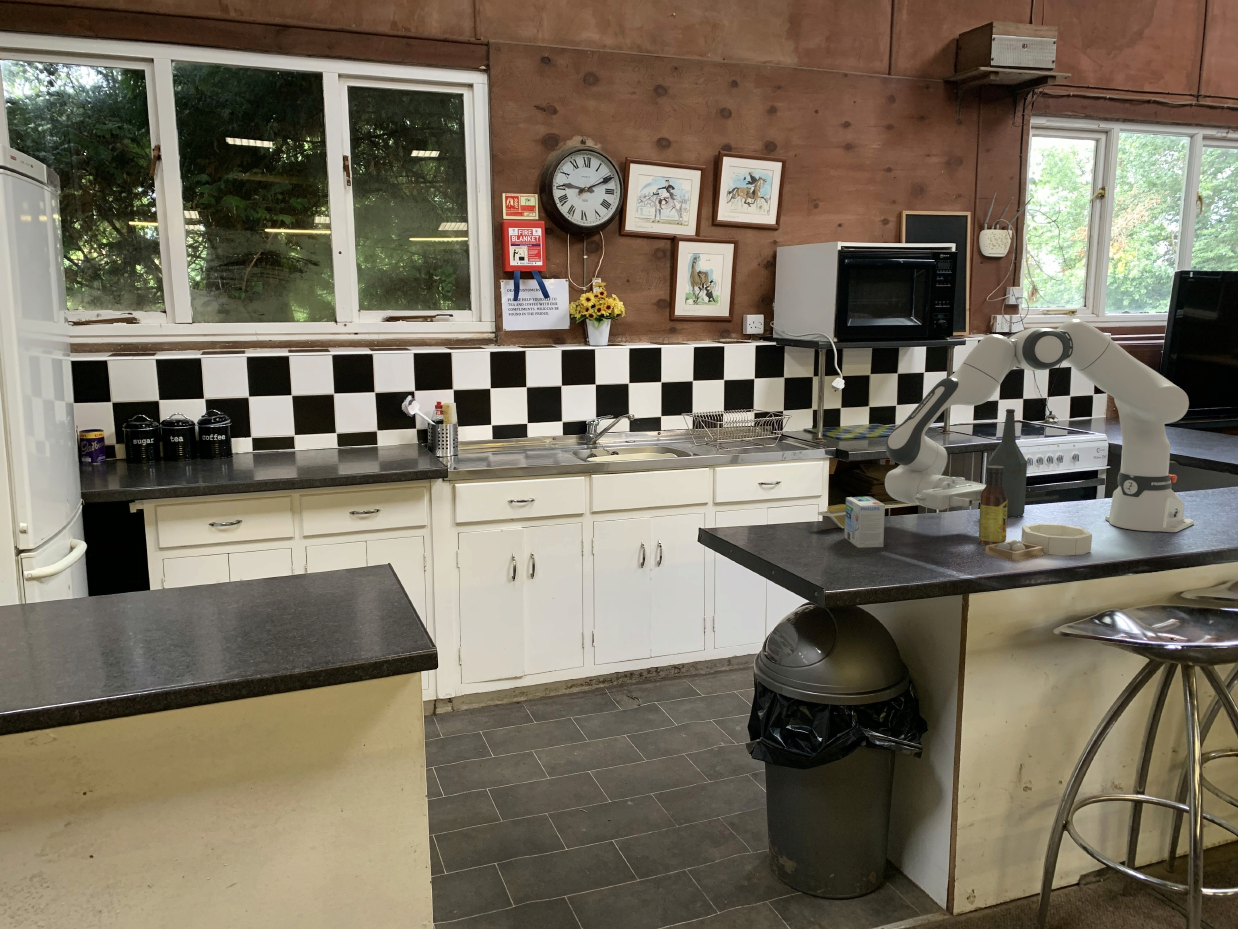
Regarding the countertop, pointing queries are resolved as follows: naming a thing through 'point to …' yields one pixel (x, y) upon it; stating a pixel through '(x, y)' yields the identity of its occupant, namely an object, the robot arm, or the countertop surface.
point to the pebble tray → (1029, 553)
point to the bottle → (1011, 467)
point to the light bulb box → (864, 522)
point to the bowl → (1058, 538)
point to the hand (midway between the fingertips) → (982, 501)
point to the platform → (833, 517)
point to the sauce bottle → (993, 508)
